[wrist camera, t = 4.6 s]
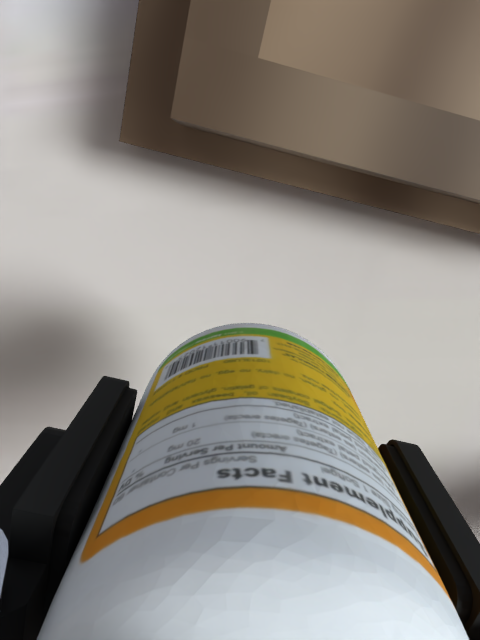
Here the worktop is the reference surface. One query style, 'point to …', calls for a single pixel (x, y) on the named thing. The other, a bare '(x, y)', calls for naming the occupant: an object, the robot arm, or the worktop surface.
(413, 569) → the supplement bottle
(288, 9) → the brown rectangular recessed tray
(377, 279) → the worktop surface
